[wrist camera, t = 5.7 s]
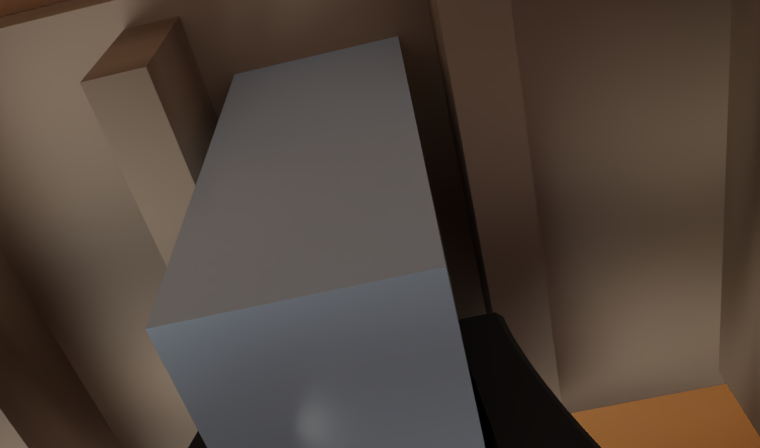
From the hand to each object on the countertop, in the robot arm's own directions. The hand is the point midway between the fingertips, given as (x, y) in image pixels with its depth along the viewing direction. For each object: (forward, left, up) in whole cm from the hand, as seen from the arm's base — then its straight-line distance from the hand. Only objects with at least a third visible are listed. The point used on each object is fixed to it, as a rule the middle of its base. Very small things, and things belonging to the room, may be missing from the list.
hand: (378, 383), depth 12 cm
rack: (0, 0, -5) cm, 5 cm away
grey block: (0, 0, -4) cm, 4 cm away
